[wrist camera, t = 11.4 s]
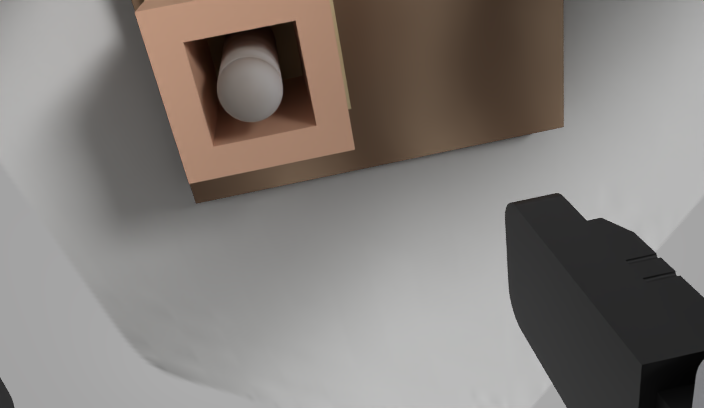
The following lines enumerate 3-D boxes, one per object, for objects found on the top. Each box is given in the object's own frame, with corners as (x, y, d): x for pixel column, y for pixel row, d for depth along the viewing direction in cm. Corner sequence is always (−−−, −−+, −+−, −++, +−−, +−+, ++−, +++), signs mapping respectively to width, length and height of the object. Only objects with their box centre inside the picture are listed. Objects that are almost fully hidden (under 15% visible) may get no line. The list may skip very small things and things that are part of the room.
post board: (545, -202, 24) (693, -244, 16) (549, 116, 30) (658, 201, 22) (101, -122, 23) (23, -123, 15) (198, 188, 29) (178, 304, 21)
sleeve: (308, -46, 24) (325, -25, 18) (334, 95, 26) (354, 149, 21) (160, -18, 23) (134, 12, 18) (201, 122, 26) (188, 183, 21)
